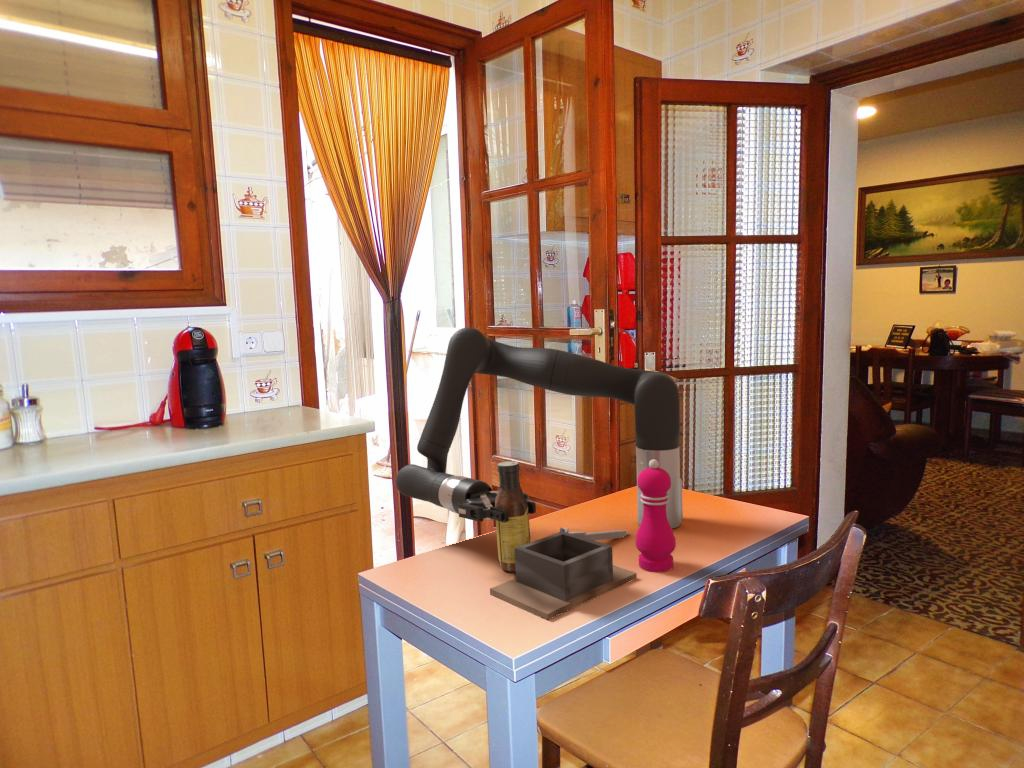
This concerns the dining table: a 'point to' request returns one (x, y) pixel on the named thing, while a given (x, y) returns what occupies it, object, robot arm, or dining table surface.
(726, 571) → the dining table surface
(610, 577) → the bottle caddy
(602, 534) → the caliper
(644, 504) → the pepper mill
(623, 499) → the dining table surface
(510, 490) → the sauce bottle
